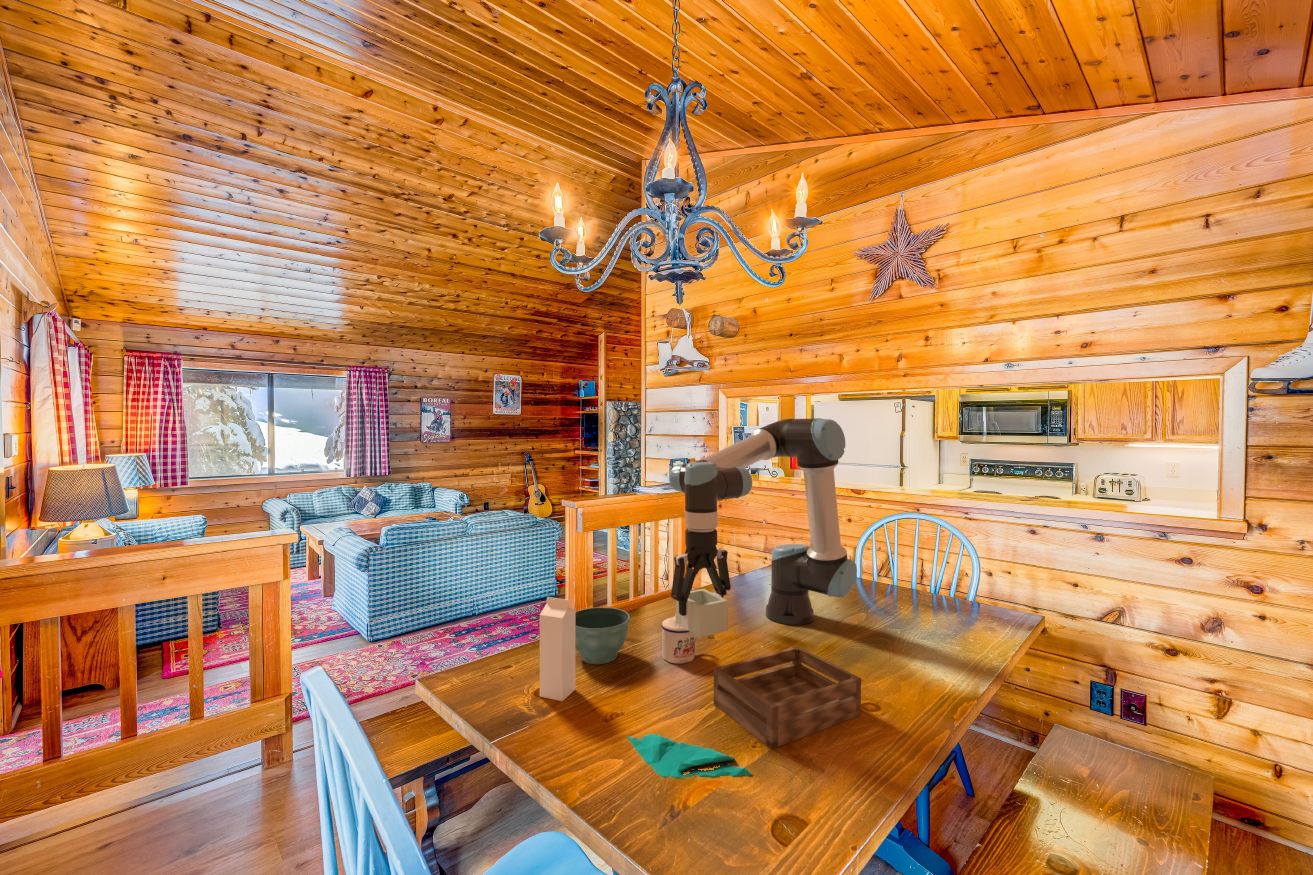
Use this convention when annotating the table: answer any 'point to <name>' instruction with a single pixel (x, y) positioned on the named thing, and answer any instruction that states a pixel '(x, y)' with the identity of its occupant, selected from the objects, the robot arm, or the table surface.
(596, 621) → the flower pot
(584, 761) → the table surface
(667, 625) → the teacup with lid
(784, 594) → the robot arm
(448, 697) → the table surface
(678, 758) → the cloth
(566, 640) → the milk
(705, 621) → the small crate
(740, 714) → the crate
